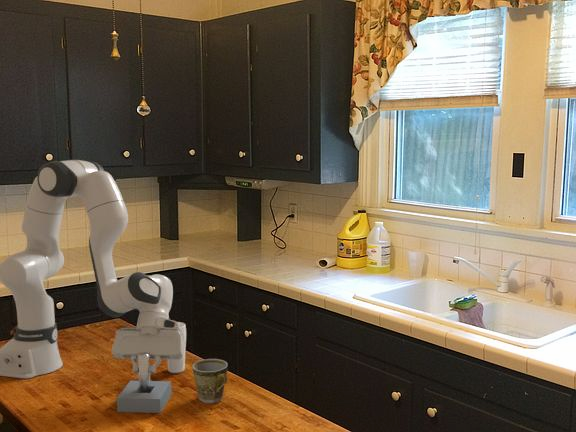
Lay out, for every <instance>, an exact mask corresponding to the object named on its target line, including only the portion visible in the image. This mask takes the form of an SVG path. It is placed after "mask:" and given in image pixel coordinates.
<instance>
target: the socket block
mask: <svg viewBox="0 0 576 432" xmlns="http://www.w3.org/2000/svg"><path fill="white" fill-rule="evenodd" d="M172 395H173V394H172V381H165V380H151V393H139V380H129V382H128V383H127V384H126V386H125V387H124V388H123V390H121V392H120V393H119V394H118V396H117V397H116V410H117V411H116V412H117V413H146V414H148V413H149V414H150V413H151V414H152V413H153V414H161V413H162V412H163V410H164V408H165V406H166V404H167V402H168V401H169V399H170V398H171V396H172Z"/></svg>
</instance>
